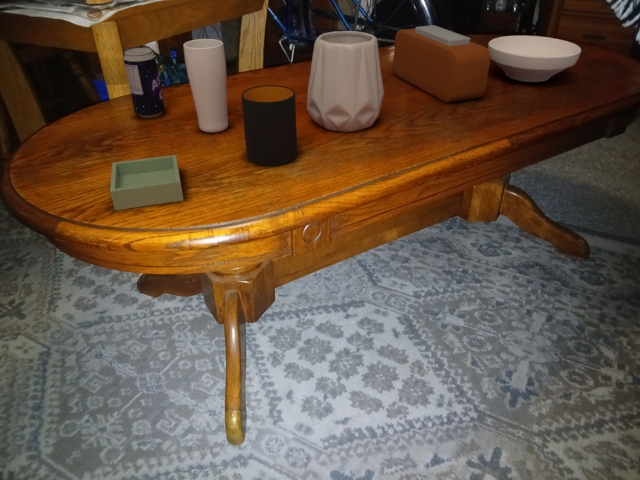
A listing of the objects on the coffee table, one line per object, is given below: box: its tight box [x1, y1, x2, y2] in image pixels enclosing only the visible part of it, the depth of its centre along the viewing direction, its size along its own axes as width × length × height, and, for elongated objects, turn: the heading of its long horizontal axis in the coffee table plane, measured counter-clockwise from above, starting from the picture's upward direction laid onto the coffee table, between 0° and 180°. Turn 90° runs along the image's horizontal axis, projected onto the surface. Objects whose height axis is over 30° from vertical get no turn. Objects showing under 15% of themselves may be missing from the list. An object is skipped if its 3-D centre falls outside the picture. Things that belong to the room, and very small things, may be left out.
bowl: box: [487, 35, 582, 83], centre depth 116 cm, size 20×20×7 cm
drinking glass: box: [182, 38, 229, 134], centre depth 90 cm, size 7×7×15 cm
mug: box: [240, 84, 298, 167], centre depth 83 cm, size 8×12×10 cm
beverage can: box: [123, 47, 166, 119], centre depth 97 cm, size 6×6×12 cm
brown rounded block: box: [392, 24, 491, 104], centre depth 111 cm, size 24×8×11 cm, turn 22°
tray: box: [109, 154, 184, 211], centre depth 74 cm, size 9×9×3 cm
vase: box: [306, 30, 385, 133], centre depth 92 cm, size 14×14×15 cm
